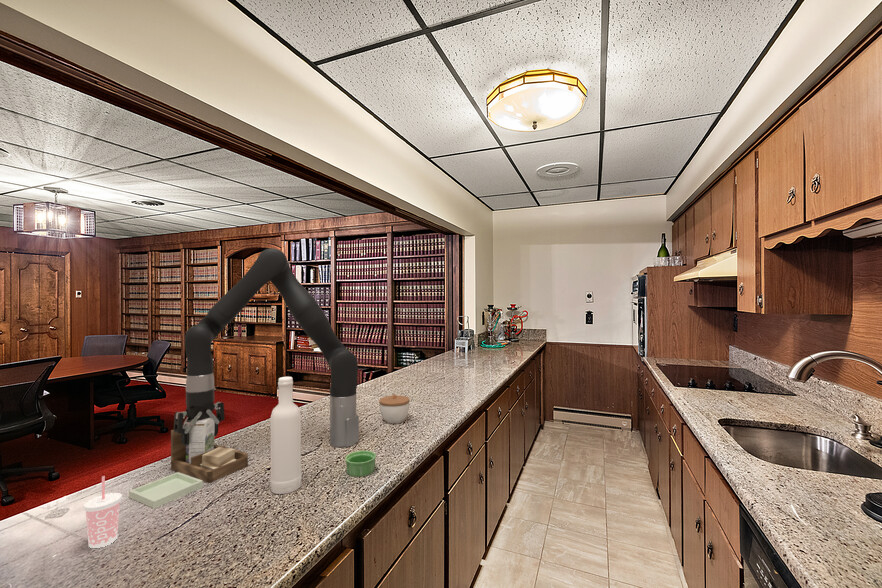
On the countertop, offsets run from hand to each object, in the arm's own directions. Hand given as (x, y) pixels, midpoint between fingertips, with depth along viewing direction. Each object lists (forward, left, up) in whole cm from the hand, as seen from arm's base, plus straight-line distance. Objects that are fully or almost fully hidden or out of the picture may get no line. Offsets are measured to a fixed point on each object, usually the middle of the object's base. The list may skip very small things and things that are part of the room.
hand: (200, 440), depth 119 cm
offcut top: (-9, 0, -5) cm, 10 cm away
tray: (-9, +14, -8) cm, 18 cm away
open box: (-5, 0, -8) cm, 9 cm away
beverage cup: (-20, +32, -8) cm, 38 cm away
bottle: (-36, -2, -8) cm, 37 cm away
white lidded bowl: (-31, -62, -8) cm, 70 cm away
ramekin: (-48, -19, -8) cm, 52 cm away
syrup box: (0, 0, -8) cm, 8 cm away
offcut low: (-9, 0, -8) cm, 12 cm away
